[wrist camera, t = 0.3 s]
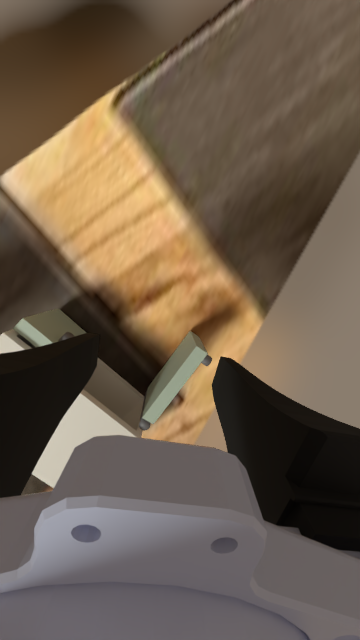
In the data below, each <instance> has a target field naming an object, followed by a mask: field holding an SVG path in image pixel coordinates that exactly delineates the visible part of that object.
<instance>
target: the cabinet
mask: <svg viewBox="0 0 360 640" xmlns="http://www.w3.org/2000/svg"><path fill="white" fill-rule="evenodd" d="M85 333H86V332H85V331H84V330H83V329H82V328H80V327H79V326H78V325H77V324H76V323H75V322H74V321H72V320H71V319H70V318H69V317H68V316H67V315H65V314H64V313H63V312H62V311H61V310H60V309H54V310H51V311H47V312H43V313H40V314H36V315H32V316H29V317H25V318H22V319H21V321H20V322H19V323H18V324H17V325H16V326H15V327H14V328H13V330H10V331H7V332H4V333H2V334H1V336H0V354H1V353H9V352H16V351H21V350H26V349H31V348H36V347H40V346H44V345H47V344H51V343H55V342H58V341H62V340H65V339H68V338H71V337H75V336H78V335H81V334H85ZM143 402H144V396H143V395H142V394H141V393H140V392H138V391H137V390H136V389H135V388H134V387H132V386H131V385H130V384H129V383H128V382H127V381H125V380H124V379H123V378H122V377H121V376H119V375H118V374H117V373H116V372H115V371H114V370H112V369H111V368H110V367H109V366H108V365H106V364H105V363H104V362H103V361H102V360H100V359H99V358H98V360H97V367H96V369H95V371H94V373H93V375H92V376H91V378H90V380H89V381H88V383H87V384H86V386H85V387H84V389H83V390H82V391H81V393H80V394H79V396H78V397H77V398H76V400H75V401H74V402H73V404H72V405H71V407H70V408H69V409H68V411H67V412H66V414H65V415H64V417H63V418H62V420H61V421H60V423H59V425H58V427H57V428H56V430H55V432H54V434H53V435H52V437H51V439H50V441H49V442H48V444H47V446H46V448H45V450H44V451H43V453H42V455H41V457H40V459H39V461H38V462H37V464H36V466H35V468H34V470H33V472H32V474H33V475H34V476H36V477H37V478H39V479H40V480H42V481H43V482H45V483H47V484H48V485H50V486H51V487H53V488H54V487H55V485H56V483H57V481H58V479H59V477H60V475H61V473H62V471H63V469H64V468H65V466H66V464H67V462H68V460H69V458H70V456H71V454H72V452H73V450H74V448H75V447H77V446H78V445H80V444H82V443H84V442H85V441H87V440H89V439H91V438H93V437H96V436H109V435H123V436H130V437H138V438H141V435H142V430H141V429H140V428H139V422H140V417H141V412H142V407H143Z"/></svg>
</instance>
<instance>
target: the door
mask: <svg viewBox="0 0 360 640" xmlns="http://www.w3.org/2000/svg"><path fill="white" fill-rule="evenodd" d="M207 354H208V353H207V351H206V349H205V347H204V345H203V343H202V342H201V340H200V338H199V336H197V335H196V334H194V333H193V332H191V331H189V333H188V334H187V335H186V337H185V338H184V340H183V341H182V342H181V344H180V345H179V346H178V348H177V349H176V350H175V352H174V353H173V354H172V356H171V357H170V358H169V360H168V361H167V362H166V364H165V365H164V366H163V368H162V369H161V371H160V372H159V373H158V375H157V376H156V377H155V379H154V380H153V381H152V383H151V384H150V385H149V387H148V390H147V391H146V392H145V397H144V402H143V407H142V412H141V417H140V422H139V428H140V429H141V430H147V429H149V427H150V423H152V424H154V423H155V421H156V420H157V419H158V418H159V416H160V415H161V414H162V412H163V411H164V410H165V409H166V407H167V406H168V405H169V403H170V402H171V401H172V399H173V398H174V397H175V396H176V394H177V393H178V392H179V390H180V389H181V388H182V387H183V385H184V384H185V383H186V381H187V380H188V379H189V378H190V376H191V375H192V374H193V372H194V371H195V370H196V368H197V367H198V366H199V365H200V363H202V364H204V365H205V366H208V365H209V364H210V363H211V361H212V358H211V357H210V356H208V355H207Z"/></svg>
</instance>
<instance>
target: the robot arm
mask: <svg viewBox="0 0 360 640" xmlns="http://www.w3.org/2000/svg"><path fill="white" fill-rule="evenodd" d="M99 340H100V335H99V334H94V333H85V334H81V335H78V336H75V337H71V338H68V339H65V340H62V341H58V342H55V343H51V344H47V345H44V346H40V347H36V348H31V349H26V350H21V351H16V352H9V353H1V354H0V640H360V429H359V428H356V427H353V426H350V425H348V424H345V423H342V422H339V421H337V420H334V419H332V418H329V417H327V416H325V415H322V414H320V413H318V412H316V411H313V410H311V409H309V408H307V407H305V406H303V405H301V404H299V403H297V402H295V401H293V400H292V399H290V398H288V397H286V396H285V395H283V394H281V393H279V392H278V391H276V390H274V389H273V388H271V387H270V386H268V385H267V384H265V383H264V382H262V381H261V380H260V379H258V378H257V377H256V376H254V375H253V374H252V373H250V372H249V371H248V370H246V369H245V368H244V367H242V366H241V365H240V364H238V363H237V362H236V361H234V360H233V359H231V358H226V357H220V360H219V364H218V367H217V370H216V373H215V377H214V380H213V383H212V390H213V397H214V402H215V405H216V409H217V412H218V416H219V419H220V422H221V426H222V429H223V433H224V436H225V440H226V445H227V450H228V453H227V452H224V451H221V450H219V449H216V448H211V447H204V446H196V445H190V444H182V443H175V442H167V441H160V440H153V439H145V438H138V437H130V436H123V435H109V436H96V437H93V438H91V439H89V440H87V441H85V442H84V443H82V444H80V445H78V446H77V447H75V448H74V450H73V452H72V454H71V456H70V458H69V460H68V462H67V464H66V466H65V468H64V469H63V471H62V473H61V475H60V477H59V479H58V481H57V483H56V485H55V487H54V489H53V491H50V492H43V493H35V494H27V495H21V493H22V491H23V489H24V487H25V485H26V483H27V482H28V480H29V478H30V476H31V474H32V472H33V470H34V468H35V466H36V464H37V462H38V461H39V459H40V457H41V455H42V453H43V451H44V450H45V448H46V446H47V444H48V442H49V441H50V439H51V437H52V435H53V434H54V432H55V430H56V428H57V427H58V425H59V423H60V421H61V420H62V418H63V417H64V415H65V414H66V412H67V411H68V409H69V408H70V407H71V405H72V404H73V402H74V401H75V400H76V398H77V397H78V396H79V394H80V393H81V391H82V390H83V389H84V387H85V386H86V384H87V383H88V381H89V380H90V378H91V376H92V375H93V373H94V371H95V369H96V367H97V360H98V350H99Z"/></svg>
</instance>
